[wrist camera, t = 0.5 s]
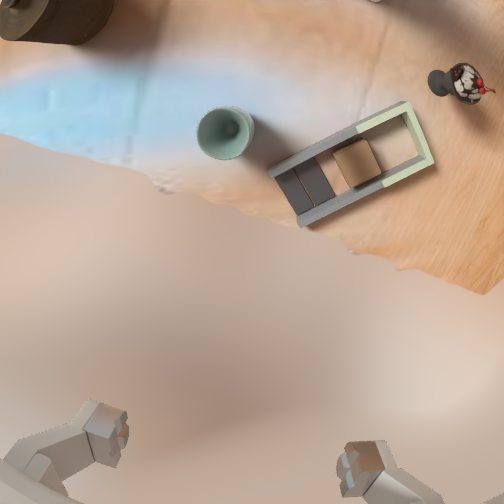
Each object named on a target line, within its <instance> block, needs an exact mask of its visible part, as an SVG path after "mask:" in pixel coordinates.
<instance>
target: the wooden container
mask: <svg viewBox="0 0 504 504" xmlns="http://www.w3.org/2000/svg"><path fill="white" fill-rule="evenodd" d="M112 7H113V0H2V2H1V4H0V36H1V38H3V39H4V40H8V41H28V42H41V43H52V44H67V45H77V44H81V43H84V42H86V41H88V40H89V39H91V38H92V37H94V36H95V35H96V34H97V33H98V32H99V31H100V30H101V28H102V27H103V26H104V25H105V23H106V21H107V20H108V18H109V16H110V13H111V11H112Z"/></svg>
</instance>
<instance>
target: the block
mask: <svg viewBox="0 0 504 504" xmlns="http://www.w3.org/2000/svg"><path fill="white" fill-rule="evenodd" d="M331 153H332V155H333V157H334V159H335V160H336V162H337V164H338V166H339V168H340V170H341V172H342V174H343V176H344V178H345V180H346V182H347V184H348V185H349V187H350V188H352V187H354V186H356V185H358V184H360V183H362V182H365V181H367V180H369V179H371V178H373V177H375V176H377V175H379V174H381V171H380V168H379V166H378V164H377V162H376V159H375V157H374V155H373V153H372V151H371V149H370V146H369V144H368V142H367V141H366V140H365V139H363V138H360V139H358V140H356V141H354V142H352V143H349V144H347V145H345V146H343V147H341V148H339V149H337V150H335V151H333V152H331Z"/></svg>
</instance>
